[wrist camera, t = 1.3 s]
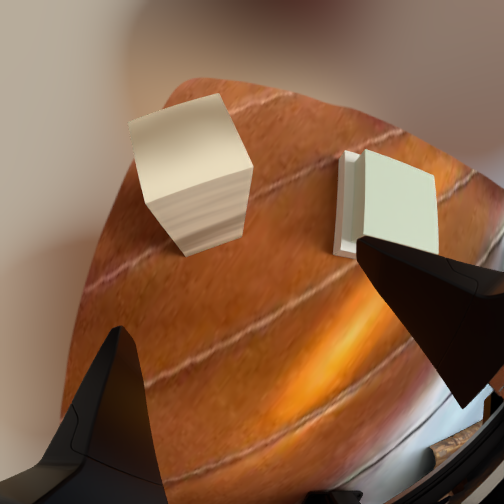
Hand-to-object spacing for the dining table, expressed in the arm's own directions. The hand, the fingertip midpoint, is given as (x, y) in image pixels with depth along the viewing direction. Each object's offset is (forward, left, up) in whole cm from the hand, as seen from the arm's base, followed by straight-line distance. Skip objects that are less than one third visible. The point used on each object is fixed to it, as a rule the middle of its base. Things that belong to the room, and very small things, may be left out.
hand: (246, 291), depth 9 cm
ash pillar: (+6, +5, -13) cm, 15 cm away
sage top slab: (+12, -11, -12) cm, 20 cm away
